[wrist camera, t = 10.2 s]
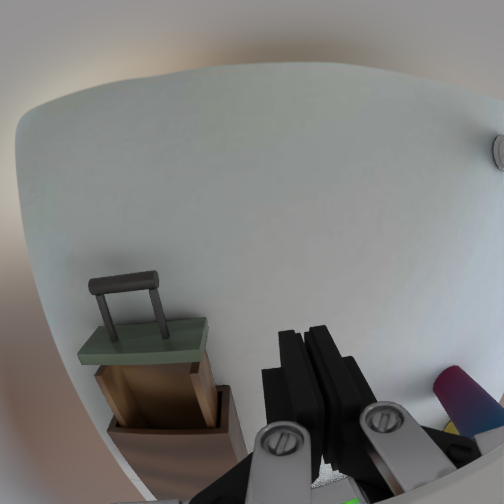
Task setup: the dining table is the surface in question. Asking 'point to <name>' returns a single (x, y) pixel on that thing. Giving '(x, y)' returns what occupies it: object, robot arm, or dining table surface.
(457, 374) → the cup
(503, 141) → the rook chess piece
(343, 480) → the tray
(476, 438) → the robot arm
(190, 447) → the cabinet
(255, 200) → the dining table surface
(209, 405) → the drawer
